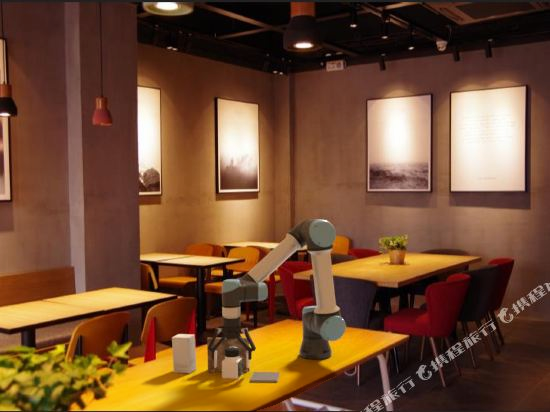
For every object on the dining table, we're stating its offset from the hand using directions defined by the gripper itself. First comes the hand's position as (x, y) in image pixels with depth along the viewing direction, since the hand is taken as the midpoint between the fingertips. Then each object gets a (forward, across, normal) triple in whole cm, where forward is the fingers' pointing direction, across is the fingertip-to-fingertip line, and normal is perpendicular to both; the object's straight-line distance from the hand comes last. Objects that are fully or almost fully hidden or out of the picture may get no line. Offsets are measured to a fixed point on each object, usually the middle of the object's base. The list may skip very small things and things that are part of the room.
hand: (231, 367), depth 250 cm
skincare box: (+4, +22, -6) cm, 23 cm away
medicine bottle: (+4, 0, 0) cm, 4 cm away
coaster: (+4, -14, +2) cm, 15 cm away
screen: (+4, +3, -8) cm, 9 cm away
